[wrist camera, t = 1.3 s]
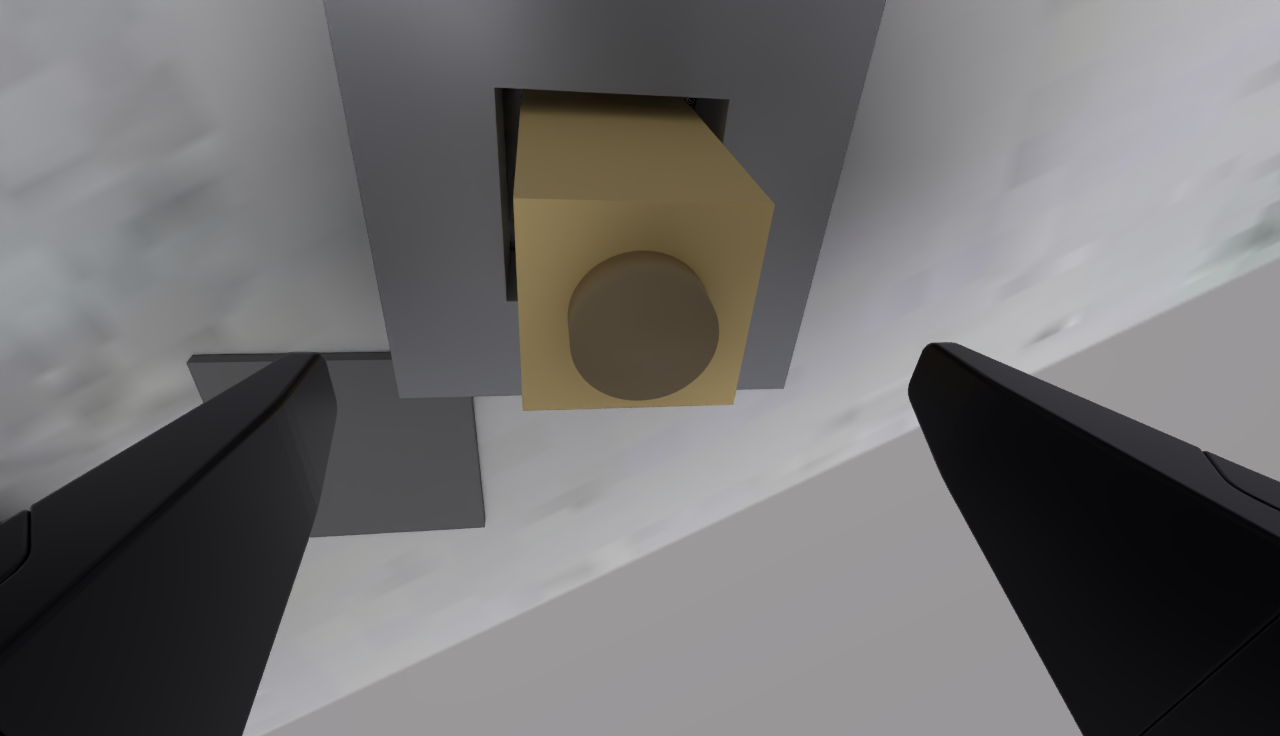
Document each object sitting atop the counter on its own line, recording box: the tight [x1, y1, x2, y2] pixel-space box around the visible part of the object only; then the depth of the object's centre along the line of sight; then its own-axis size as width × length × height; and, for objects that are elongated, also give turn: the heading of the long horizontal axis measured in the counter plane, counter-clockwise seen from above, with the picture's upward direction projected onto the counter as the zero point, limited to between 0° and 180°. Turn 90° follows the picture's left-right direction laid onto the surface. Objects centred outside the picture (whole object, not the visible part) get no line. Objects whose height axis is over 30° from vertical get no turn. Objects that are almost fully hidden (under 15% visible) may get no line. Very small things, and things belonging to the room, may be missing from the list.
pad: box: [187, 352, 485, 537], centre depth 21 cm, size 8×8×1 cm
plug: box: [513, 89, 775, 411], centre depth 13 cm, size 4×4×9 cm
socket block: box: [323, 0, 886, 398], centre depth 16 cm, size 11×11×3 cm
